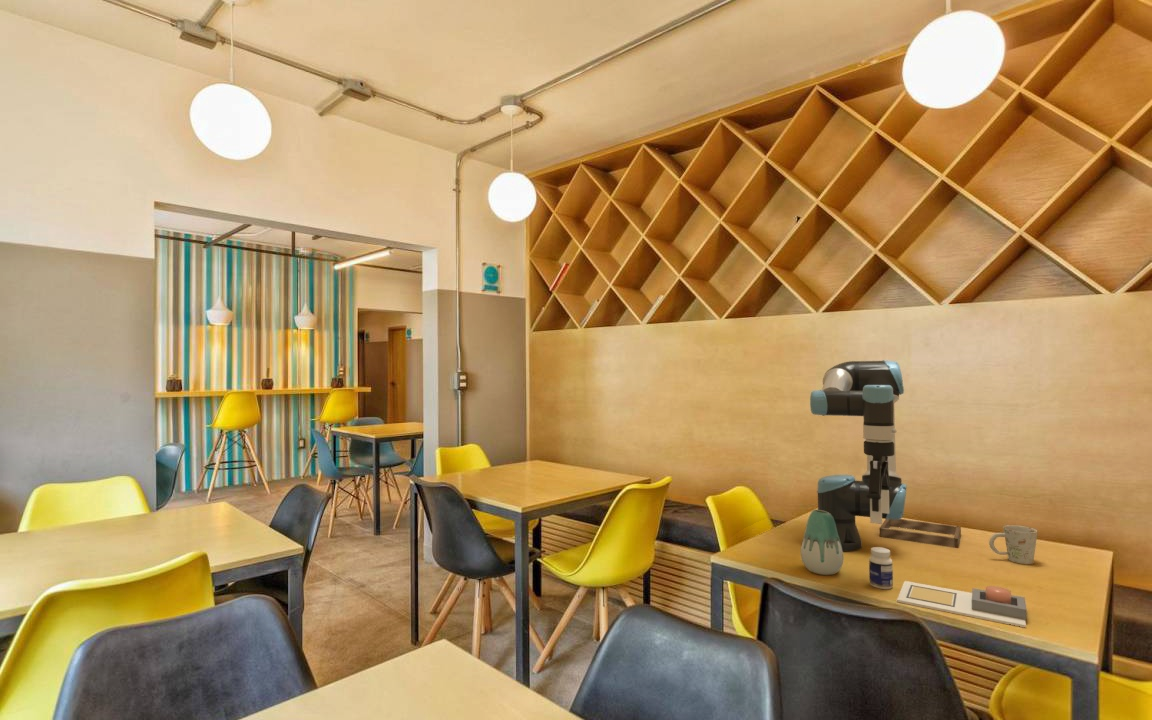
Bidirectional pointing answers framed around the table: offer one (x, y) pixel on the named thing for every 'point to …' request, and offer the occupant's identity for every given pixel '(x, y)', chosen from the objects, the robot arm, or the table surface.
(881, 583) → the pill bottle
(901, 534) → the book tray
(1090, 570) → the table surface
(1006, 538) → the mug
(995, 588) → the button
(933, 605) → the white base plate
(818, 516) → the vase
